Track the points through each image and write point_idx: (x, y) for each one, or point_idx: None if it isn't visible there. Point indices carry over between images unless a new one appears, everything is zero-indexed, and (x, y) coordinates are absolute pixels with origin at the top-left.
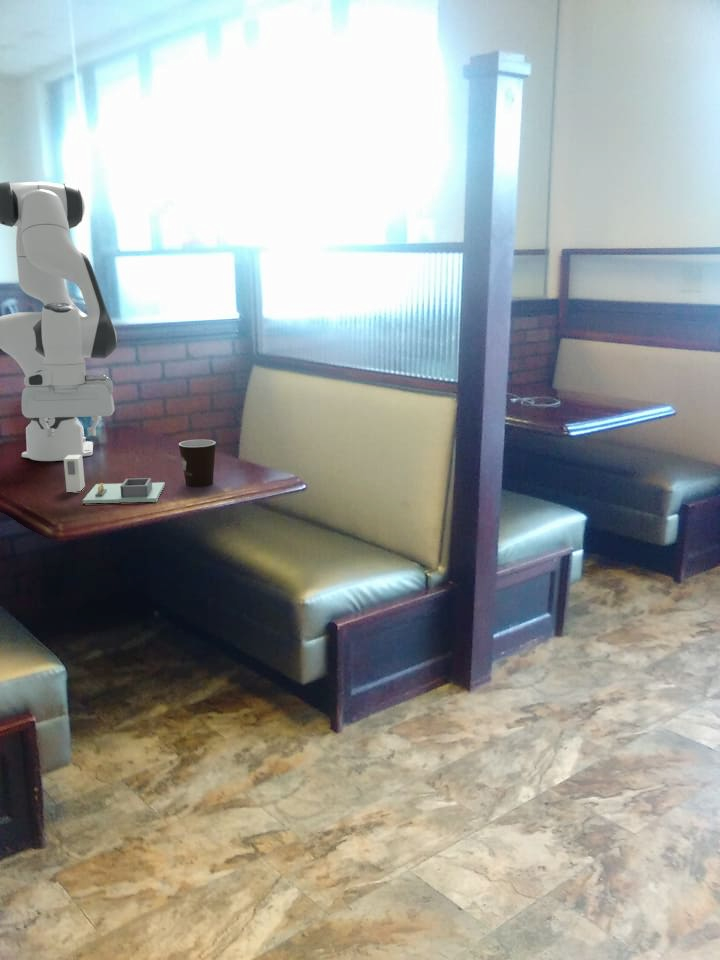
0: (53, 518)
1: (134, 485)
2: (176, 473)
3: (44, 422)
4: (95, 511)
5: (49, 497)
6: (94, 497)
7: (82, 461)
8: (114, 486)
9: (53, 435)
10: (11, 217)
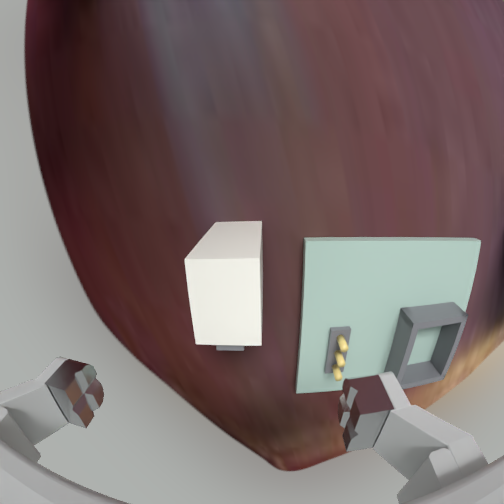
0: (255, 442)
1: (422, 380)
2: (482, 99)
3: (23, 430)
4: (327, 418)
5: (188, 323)
6: (322, 376)
7: (260, 252)
8: (368, 277)
9: (93, 376)
10: None
